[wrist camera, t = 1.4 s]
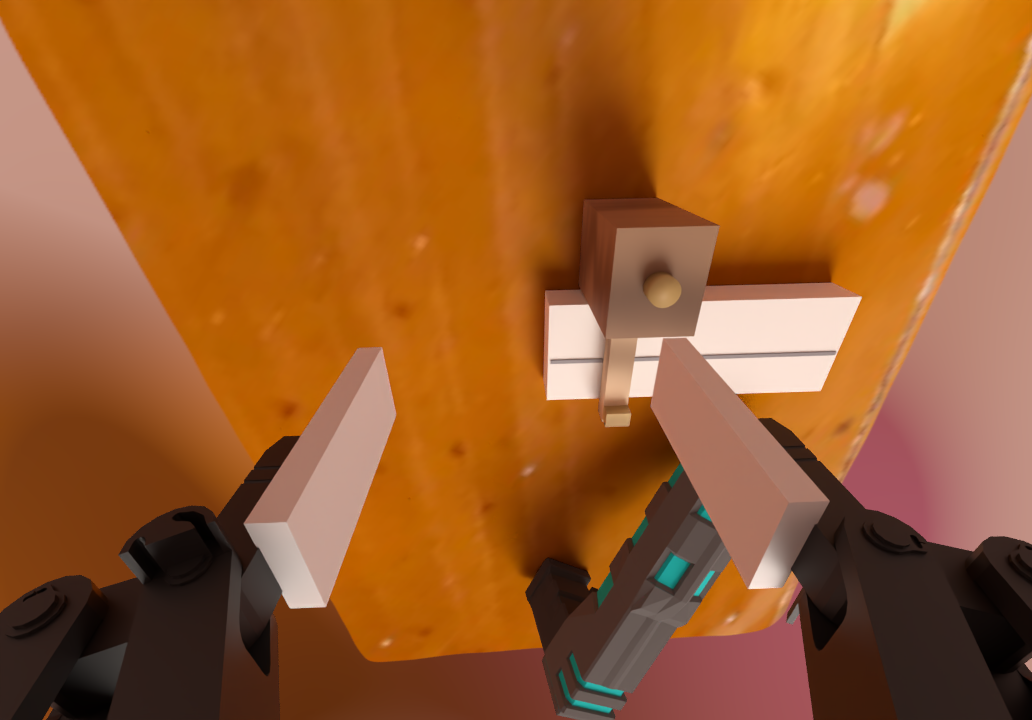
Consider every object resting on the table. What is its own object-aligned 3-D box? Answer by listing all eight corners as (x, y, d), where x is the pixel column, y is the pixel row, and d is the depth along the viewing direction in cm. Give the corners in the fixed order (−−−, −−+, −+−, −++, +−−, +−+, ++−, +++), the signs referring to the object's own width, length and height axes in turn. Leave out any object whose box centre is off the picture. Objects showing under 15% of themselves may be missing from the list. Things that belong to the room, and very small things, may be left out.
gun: (518, 596, 48) (554, 740, 34) (647, 386, 44) (749, 448, 30) (562, 610, 50) (615, 752, 36) (690, 409, 46) (805, 478, 32)
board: (545, 290, 30) (549, 306, 28) (831, 282, 31) (863, 297, 28) (543, 379, 34) (547, 400, 32) (796, 371, 35) (821, 391, 32)
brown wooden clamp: (583, 199, 27) (622, 233, 18) (657, 197, 27) (729, 230, 19) (571, 388, 35) (595, 474, 26) (629, 386, 35) (670, 471, 26)
